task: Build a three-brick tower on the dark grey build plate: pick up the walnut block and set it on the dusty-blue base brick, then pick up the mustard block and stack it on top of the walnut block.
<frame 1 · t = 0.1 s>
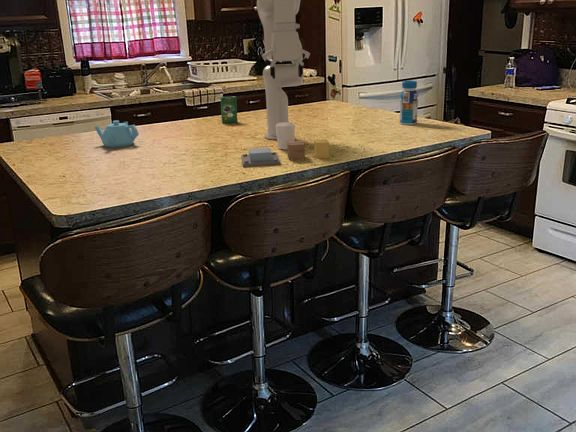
hand: (286, 77, 220), 31 cm above the counter, tool pointing down, fingers open, 9 cm apart
build plate: (260, 161, 231), on the counter
coffee box: (229, 122, 311), on the counter
white cup: (286, 148, 251), on the counter
blue capped bottle: (408, 123, 292), on the counter
mustard brick: (321, 156, 235), on the counter
teapot: (118, 145, 269), on the counter
walnut brick: (296, 158, 234), on the counter
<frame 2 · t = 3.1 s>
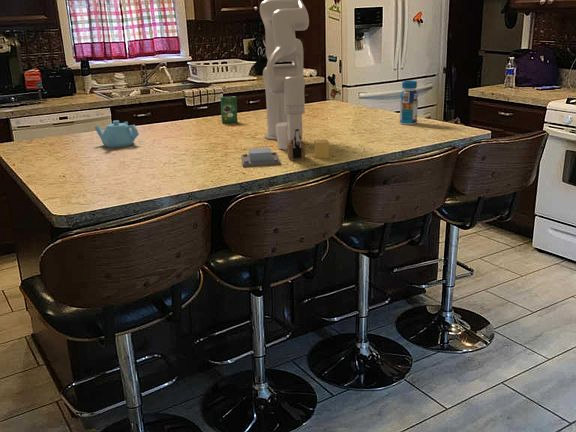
hand: (296, 155, 234), 1 cm above the counter, tool pointing down, fingers closed on walnut brick, 6 cm apart
walnut brick: (296, 157, 234), on the counter, touching gripper
everything else where it was.
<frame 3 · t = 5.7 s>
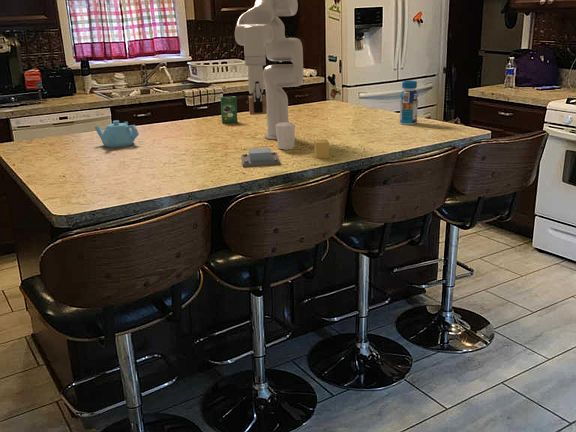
hand: (257, 110, 225), 19 cm above the counter, tool pointing down, fingers closed on walnut brick, 6 cm apart
walnut brick: (258, 113, 225), point 18 cm above the counter, touching gripper
everything else where it was.
when the fingers open (6 cm above the counter, at t = 8.5 s): walnut brick stays where it is, resting on build plate.
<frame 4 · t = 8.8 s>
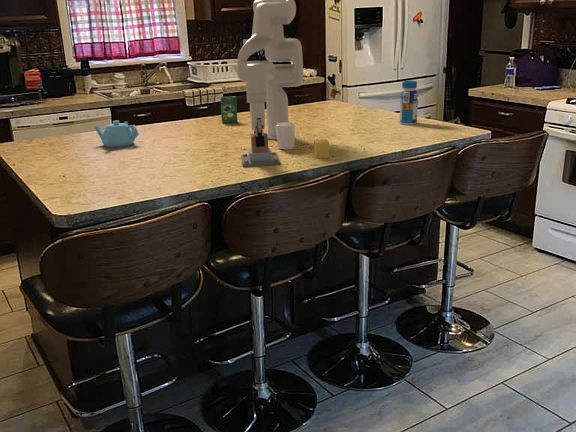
hand: (259, 143, 229), 7 cm above the counter, tool pointing down, fingers open, 8 cm apart
walnut brick: (259, 150, 230), point 4 cm above the counter, touching build plate
everything else where it was.
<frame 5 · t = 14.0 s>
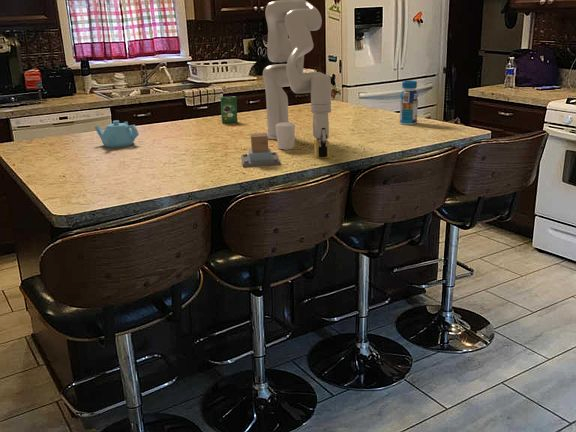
hand: (321, 154, 235), 1 cm above the counter, tool pointing down, fingers closed on mustard brick, 5 cm apart
mustard brick: (321, 156, 235), on the counter, touching gripper
everything else where it was.
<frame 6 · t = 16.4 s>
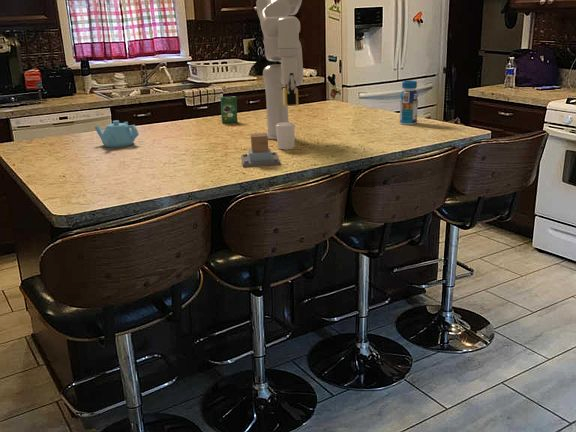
hand: (290, 102, 226), 21 cm above the counter, tool pointing down, fingers closed on mustard brick, 5 cm apart
mustard brick: (290, 104, 227), point 21 cm above the counter, touching gripper
everything else where it was.
when the fingers open (12 cm above the counter, at t = 19.2 s): mustard brick drops 1 cm, resting on walnut brick.
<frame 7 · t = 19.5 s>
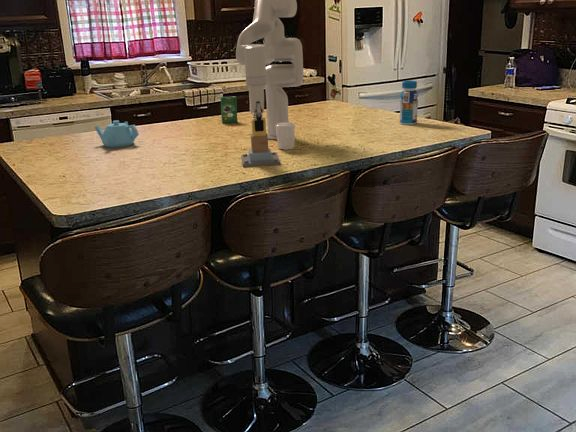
hand: (258, 128, 227), 13 cm above the counter, tool pointing down, fingers open, 7 cm apart
mustard brick: (259, 134, 228), point 10 cm above the counter, touching walnut brick
walnut brick: (259, 150, 230), point 4 cm above the counter, touching build plate, mustard brick
everything else where it was.
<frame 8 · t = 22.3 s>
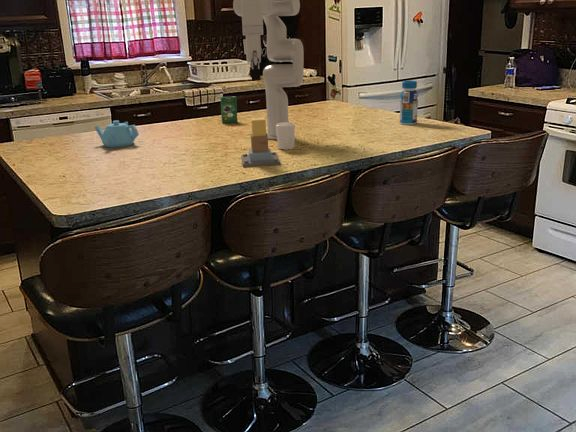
hand: (255, 78, 226), 30 cm above the counter, tool pointing down, fingers open, 9 cm apart
nothing on the counter moved.
at the end: walnut brick 0.1 cm off-centre on the build plate, point 4.2 cm above the build plate's base; mustard brick 0.0 cm off-centre on the build plate, point 10.2 cm above the build plate's base; mustard brick tilted 0° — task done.
